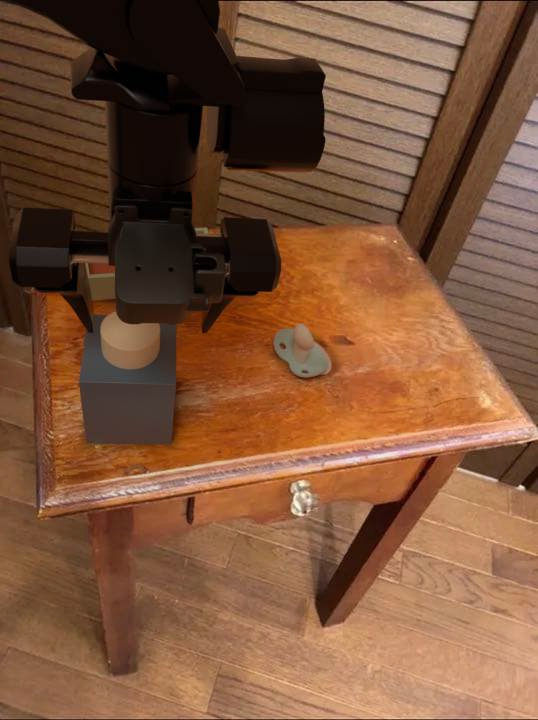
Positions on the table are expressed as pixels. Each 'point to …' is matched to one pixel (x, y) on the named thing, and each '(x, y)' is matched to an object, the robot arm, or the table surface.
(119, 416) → the stand
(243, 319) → the table surface
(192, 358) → the table surface
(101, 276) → the olive green divided tray
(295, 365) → the pacifier
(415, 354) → the table surface
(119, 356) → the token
